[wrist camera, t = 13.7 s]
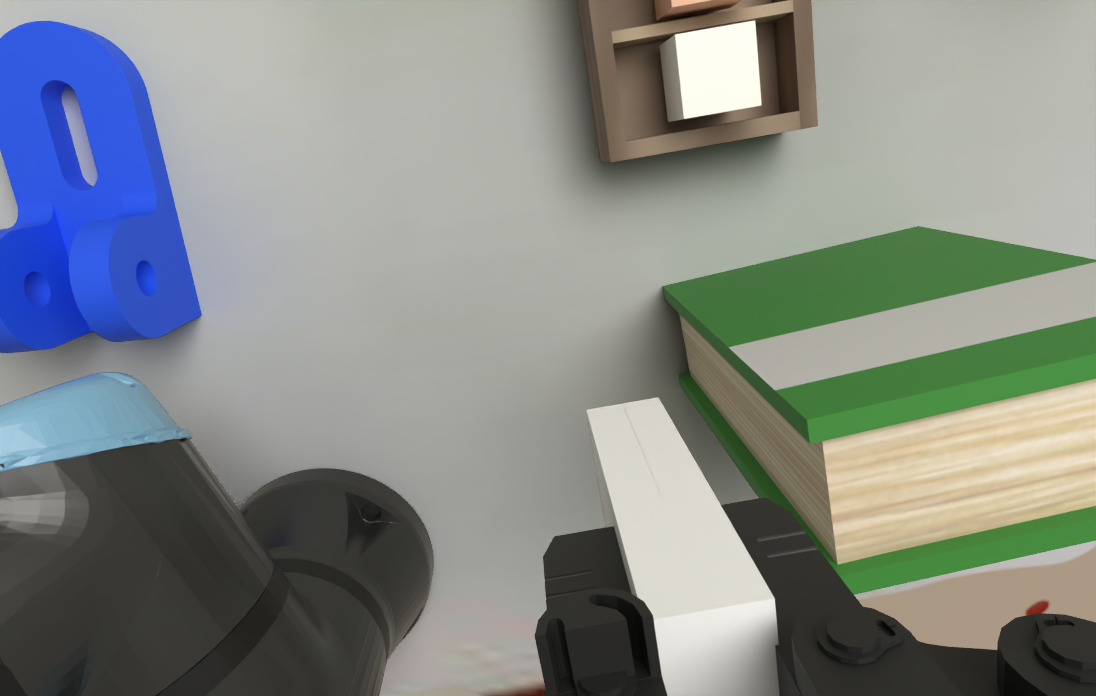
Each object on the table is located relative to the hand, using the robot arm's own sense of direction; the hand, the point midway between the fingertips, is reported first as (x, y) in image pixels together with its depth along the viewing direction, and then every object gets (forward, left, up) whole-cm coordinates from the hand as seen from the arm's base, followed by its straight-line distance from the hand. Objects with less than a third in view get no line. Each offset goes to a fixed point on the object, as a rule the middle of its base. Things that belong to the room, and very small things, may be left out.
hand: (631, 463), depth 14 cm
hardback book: (+16, -7, -33) cm, 37 cm away
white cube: (+10, +9, -29) cm, 32 cm away
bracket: (-27, +9, -33) cm, 44 cm away
